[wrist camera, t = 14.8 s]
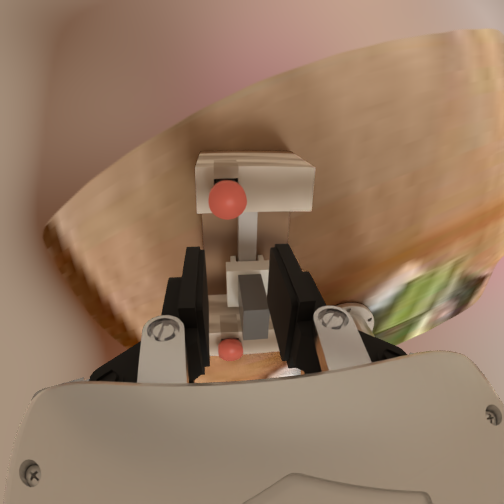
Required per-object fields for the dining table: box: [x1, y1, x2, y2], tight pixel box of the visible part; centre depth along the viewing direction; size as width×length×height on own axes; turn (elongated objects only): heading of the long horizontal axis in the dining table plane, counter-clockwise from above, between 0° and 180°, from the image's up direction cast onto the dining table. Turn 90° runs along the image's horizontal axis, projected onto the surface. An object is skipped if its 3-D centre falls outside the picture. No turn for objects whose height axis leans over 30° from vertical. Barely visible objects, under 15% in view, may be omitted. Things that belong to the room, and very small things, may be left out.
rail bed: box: [195, 150, 316, 356], centre depth 32 cm, size 22×10×8 cm, turn 179°
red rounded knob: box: [208, 179, 247, 220], centre depth 22 cm, size 3×3×4 cm
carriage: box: [226, 255, 270, 340], centre depth 31 cm, size 5×5×9 cm
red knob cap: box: [218, 338, 243, 361], centre depth 32 cm, size 3×3×4 cm
